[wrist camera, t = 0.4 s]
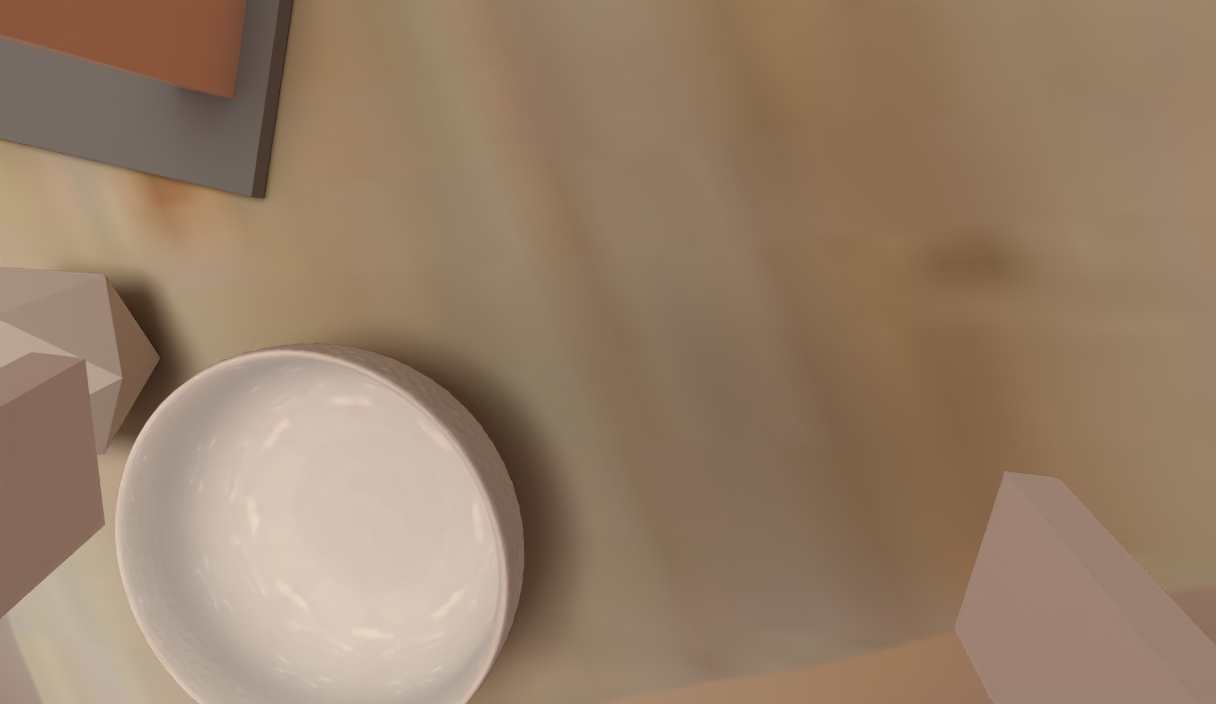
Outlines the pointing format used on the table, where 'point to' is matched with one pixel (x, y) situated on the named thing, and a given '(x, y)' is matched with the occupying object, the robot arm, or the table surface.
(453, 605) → the cereal bowl
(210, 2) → the salmon orange block
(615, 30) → the table surface
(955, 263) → the table surface
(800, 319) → the table surface
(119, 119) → the mat
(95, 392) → the die
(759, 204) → the table surface
